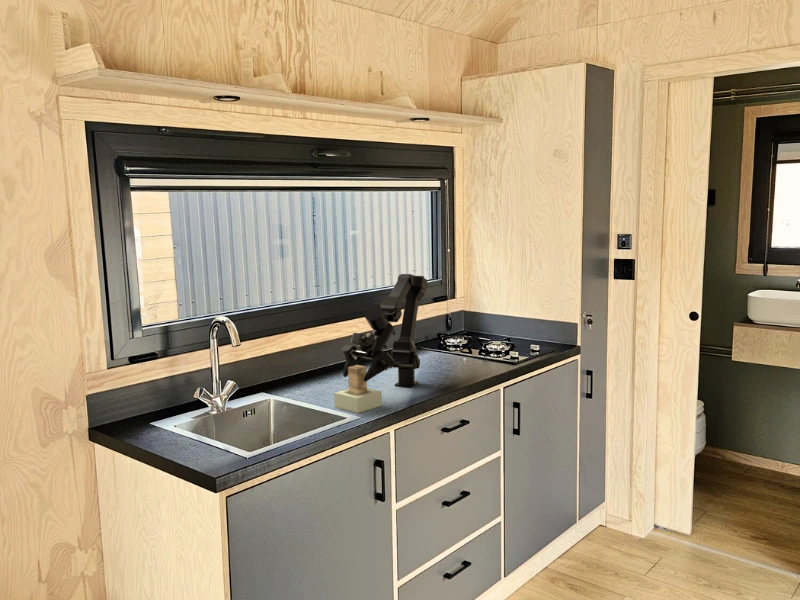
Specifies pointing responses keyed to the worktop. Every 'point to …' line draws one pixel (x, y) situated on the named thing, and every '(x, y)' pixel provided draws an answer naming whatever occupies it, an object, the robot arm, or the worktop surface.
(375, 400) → the socket block
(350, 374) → the peg
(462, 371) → the worktop surface
